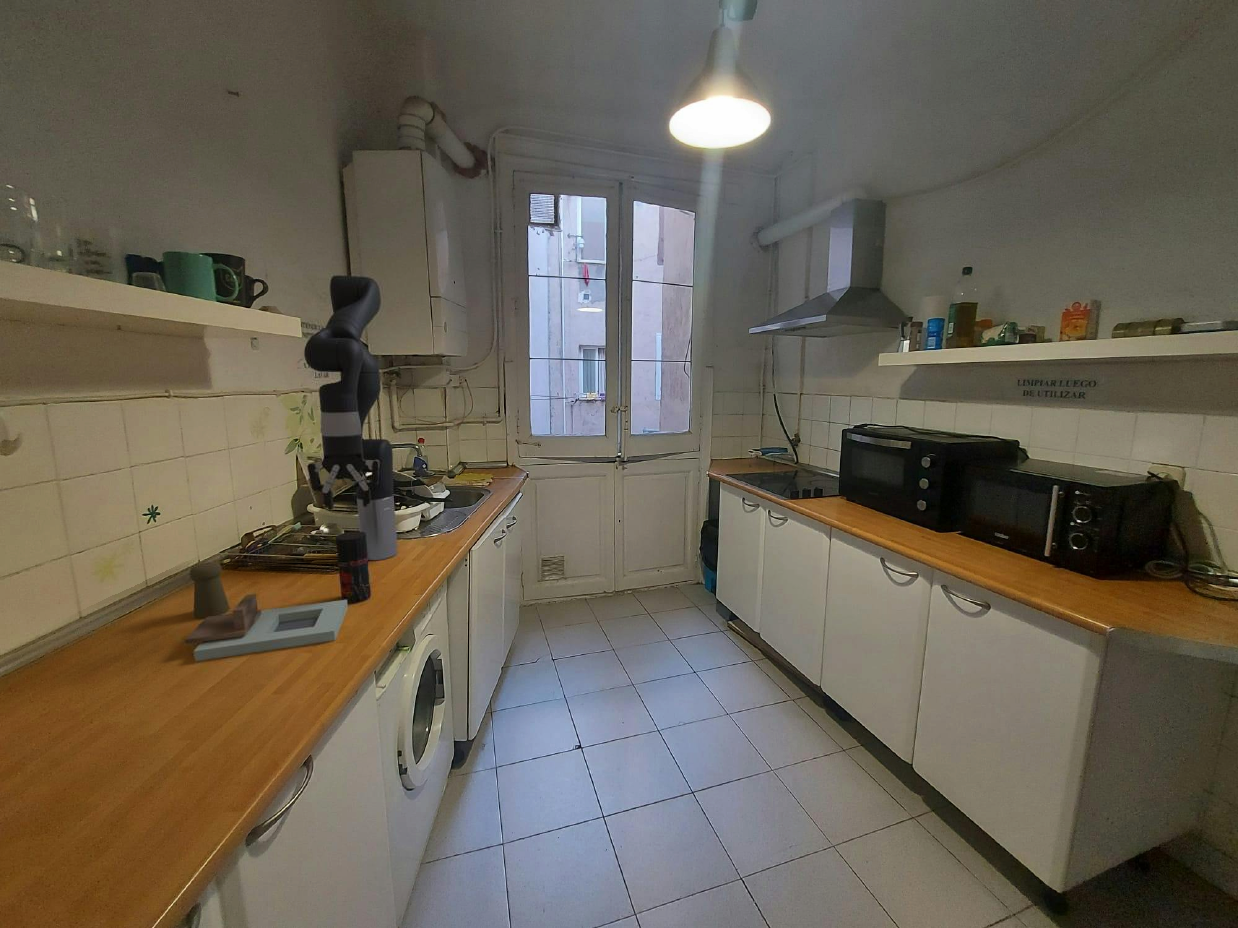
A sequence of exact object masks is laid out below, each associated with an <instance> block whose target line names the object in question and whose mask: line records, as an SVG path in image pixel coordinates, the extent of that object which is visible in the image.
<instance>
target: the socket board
mask: <svg viewBox="0 0 1238 928" xmlns="http://www.w3.org/2000/svg"><path fill="white" fill-rule="evenodd" d="M348 608H349V607H348V604H347V600H342V599H341V600H334V601H326V602H317V603H311V604H310V603H309V604H301V605H295V606H294V605H293V606H286V607H279V608H270V609H264V610H263V609H260V610H261V613H262V614H261V615H260V616H259V618H258V619H257V620H256V622H255V623H254V624H253V626H252V627H251V628H250V630H249V631H248V632H247V634H246V635H245V636H239V637H231V638H224V639H217V640H210V641H203V642H199V644H198V646H196V648H195V649H194V650H193V656H194V662H201V661H205V660H206V661H207V660H213V659H220V658H221V659H222V658H226V657H232V656H240V655H247V654H252V653H253V654H254V653H260V652H266V651H274V650H279V649H285V648H293V647H299V646H307V645H312V644H320V643H327V642H333V641H336V640H337V636H338V634H339V631H340V628H341V626H342V624H343V621H344V619H345V617H346V614H347V611H348Z"/></svg>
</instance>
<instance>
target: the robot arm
mask: <svg viewBox="0 0 1238 928" xmlns="http://www.w3.org/2000/svg"><path fill="white" fill-rule="evenodd" d="M329 291H330V299H331V308H332V313H333V314H332V315H331V316H330V317H329V319H328V321H327V323H326V326H325V327H323V328H321V329H320V330H319V331H317V332H316V333H314V334H312V336H310V337H309V339H308V340H307V342H306V344H305V346H304V351H303V352H304V353H303V354H304V359H305V362H306V364H307V365H308V367H310V368H311V369H312V370H313V371H317V372H320V373H322V372H324V373H340V374H339V376H340V380H339V381H335V382H330V383H325V384H323V385H321V386H319V388H318V398H319V408H320V433H321V441H322V442H321V443H322V452H323V453H322V454H323V458H322V461H320V462H319V461H318V462H314V461H312V462H309V463H308V464H307V467H306V468H307V472H308V476H309V480H310V481H309V482H310V484H311V488H312V490H313V491H315V492H321V493H322V494H323V503H324V504H323V505H324V506H325V508H327V510H333V509H334V506H335V505H334V495H333V490H332V487H333V485H334V483H335V482H336V481H337V480H344V479H346V480H353V479H354V480H355V481H356V482H357V483H358V484H359V486H358V487H357V488H356V491H355V492H356V503H357V504H356V505H357V515H358V525H359V526H358V529H359V532H365V533H366V542H367V554H368V561H380V560H386V559H389V558H392V557H394V556H396V555H397V554H398V538H397V537H398V535H397V526H396V525H397V524H396V510H395V509H396V508H395V499H394V465H393V463H394V461H393V460H394V459H393V458H394V457H393V455H394V454H393V447H392V444H391V442H390V441H389V440H387V439H385V438H363V437H364V436H363V432H364V423H365V421H366V419H367V416H368V415H369V413H370V411H371V410H372V408H373V407H374V405H375V404H376V401H377V399H378V397H379V396H380V394H381V389H382V387H381V377H380V368H379V365H378V362H377V359H375V358H374V356H373V355H372V353H371V351H369V349H368V348H367V347H366V346H365V345H364V343H363V342H362V340H361V338H362V335H363V332H364V330H365V328H366V327H367V326H368V325H369V324H370V323H371V321H372V320H374V317H376V315H377V314H378V312H379V311H380V308H381V304H382V303H381V301H382V297H381V292H380V291H381V290H380V287H379V285H378V283H377V281H376V280H375V279H374V278H371V277H367V276H355V275H341V274H340V275H339V274H338V275H336V274H335V275H332V276H331V279H330V283H329ZM322 468H323V469H324V470H325V471H326V472H327V473H328V477H327V478H326V481H325V483H324V484H322V481H321V479H320V474H319V473H320V471H321V470H322ZM365 473H366V474H367V473H371V481H368V480H367V478H366V476H365V475H364V474H365Z"/></svg>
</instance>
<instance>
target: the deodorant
mask: <svg viewBox="0 0 1238 928" xmlns="http://www.w3.org/2000/svg"><path fill="white" fill-rule="evenodd" d="M335 543H336V553H337V565H338V566H337V567H338V574H339V585H340V595H341V596H340V597H341V600H347V604H349V605H350V604H359V603H362V602H365V601H367V600H369V599H370V598H371V597H372V589H371V579H370V578H371V577H370V568H369V560H368V554H367V542H366V533H365V532H360V530H359V531H349V532H343V533H340V534H338V535H336V536H335Z"/></svg>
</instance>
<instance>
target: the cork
mask: <svg viewBox="0 0 1238 928" xmlns="http://www.w3.org/2000/svg"><path fill="white" fill-rule="evenodd" d="M222 572H223V569H222V566H221V564H220V563H219V562H218V561H217V562H216V561H206V562H205V561H204V562H201V563H197V564H196V565H194V566H192V567H191V569H190V570H189V577H190V579H191V580H192V581H193V582H194V583H193V584H194V592H193V595H194V596H193V618H194V619H195V620H204V619H205V618H206V617H209V616H217V615H225V614H227V613H228V612H229V611H230V609H231V607H230V605H229V602H228V599H227V596H226V593H225V590H224V587H223V583H222V580H221V577H220V576H221V575H222V574H223V573H222Z"/></svg>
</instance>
